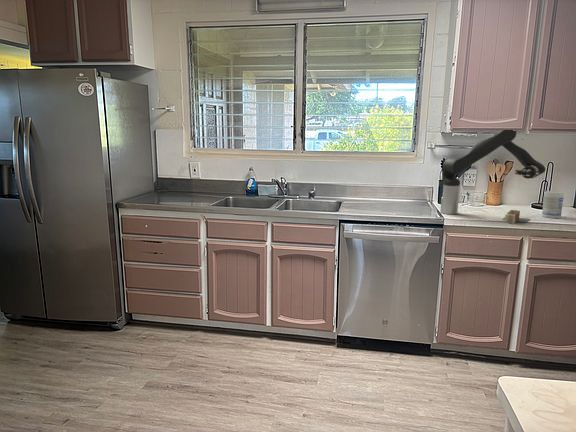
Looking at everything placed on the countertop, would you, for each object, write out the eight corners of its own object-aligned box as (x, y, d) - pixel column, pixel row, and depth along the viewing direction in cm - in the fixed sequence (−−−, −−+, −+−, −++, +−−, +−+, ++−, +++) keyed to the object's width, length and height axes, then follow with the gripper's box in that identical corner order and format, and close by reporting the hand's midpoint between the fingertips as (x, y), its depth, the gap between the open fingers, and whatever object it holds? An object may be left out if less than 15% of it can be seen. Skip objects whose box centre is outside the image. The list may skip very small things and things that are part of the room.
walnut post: (510, 217, 238) (504, 222, 229) (511, 209, 237) (505, 214, 228) (519, 218, 235) (513, 223, 226) (520, 210, 234) (514, 215, 225)
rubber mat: (502, 219, 236) (502, 219, 236) (507, 216, 244) (507, 216, 244) (526, 222, 228) (526, 221, 228) (530, 219, 237) (530, 218, 236)
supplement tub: (561, 219, 237) (564, 193, 234) (542, 217, 242) (545, 192, 239) (560, 216, 246) (563, 191, 243) (541, 214, 250) (544, 190, 247)
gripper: (518, 165, 255) (511, 166, 242) (543, 166, 247) (537, 167, 234) (516, 177, 256) (509, 179, 244) (541, 179, 248) (535, 180, 235)
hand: (523, 173), depth 239 cm, fingers closed
